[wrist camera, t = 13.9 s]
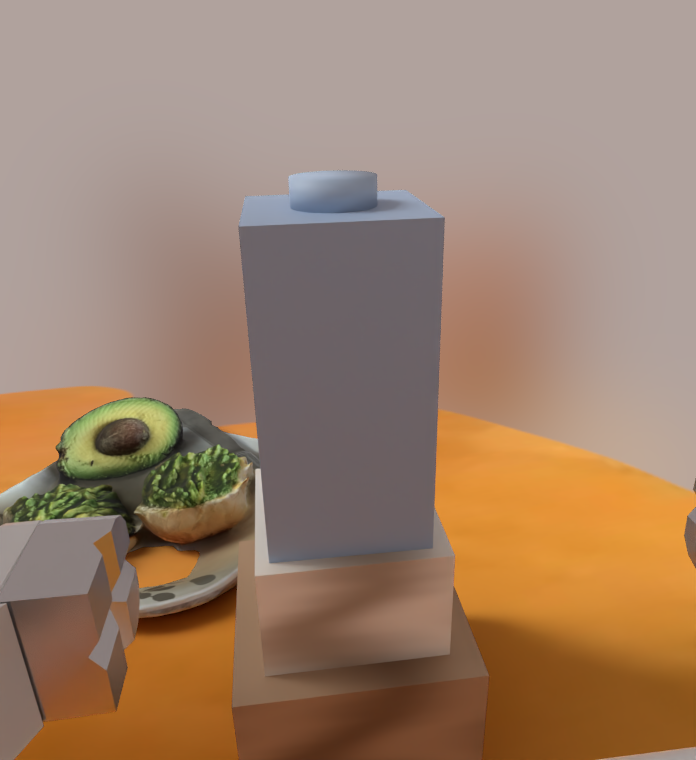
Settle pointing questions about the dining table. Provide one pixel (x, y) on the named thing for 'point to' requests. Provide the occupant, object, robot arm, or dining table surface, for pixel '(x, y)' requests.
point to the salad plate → (153, 490)
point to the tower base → (357, 699)
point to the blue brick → (344, 363)
